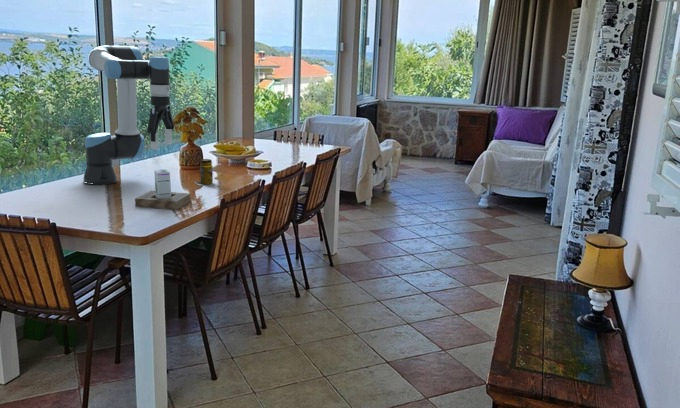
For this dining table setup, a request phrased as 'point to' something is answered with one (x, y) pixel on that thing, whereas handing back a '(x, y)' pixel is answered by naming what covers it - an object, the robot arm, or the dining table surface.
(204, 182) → the condiment
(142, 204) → the walnut socket block
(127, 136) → the robot arm
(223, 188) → the dining table surface
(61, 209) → the dining table surface
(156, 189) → the syrup box
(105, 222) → the dining table surface
